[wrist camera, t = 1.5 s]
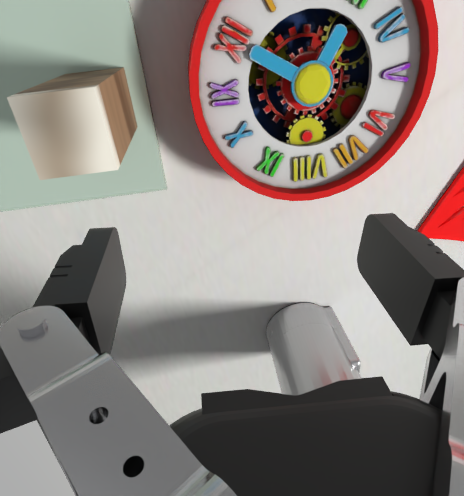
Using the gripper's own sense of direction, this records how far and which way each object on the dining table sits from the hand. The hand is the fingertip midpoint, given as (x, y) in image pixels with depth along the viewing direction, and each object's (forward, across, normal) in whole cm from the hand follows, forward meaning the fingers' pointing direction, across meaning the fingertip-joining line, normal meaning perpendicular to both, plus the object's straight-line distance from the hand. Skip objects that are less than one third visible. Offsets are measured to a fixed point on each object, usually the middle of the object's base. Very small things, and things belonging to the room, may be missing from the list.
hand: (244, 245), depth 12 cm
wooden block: (+25, +9, 0) cm, 27 cm away
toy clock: (+26, -8, -2) cm, 28 cm away
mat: (+26, +15, 0) cm, 30 cm away
